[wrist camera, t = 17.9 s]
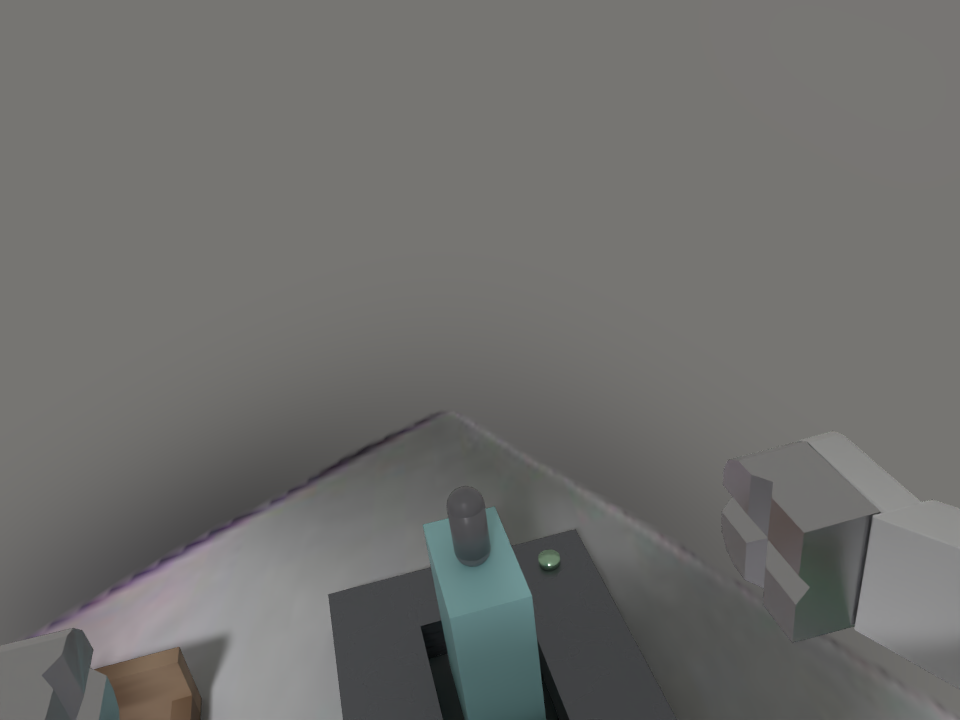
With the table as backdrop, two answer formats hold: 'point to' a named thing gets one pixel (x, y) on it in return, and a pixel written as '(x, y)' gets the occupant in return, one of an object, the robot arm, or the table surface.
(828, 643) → the table surface
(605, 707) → the port block
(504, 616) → the plug
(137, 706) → the open wooden frame
